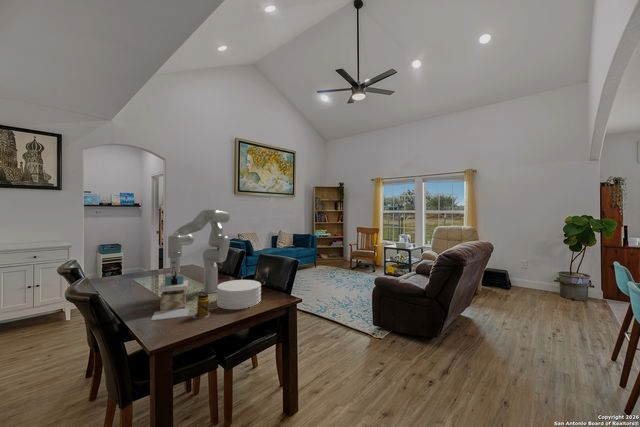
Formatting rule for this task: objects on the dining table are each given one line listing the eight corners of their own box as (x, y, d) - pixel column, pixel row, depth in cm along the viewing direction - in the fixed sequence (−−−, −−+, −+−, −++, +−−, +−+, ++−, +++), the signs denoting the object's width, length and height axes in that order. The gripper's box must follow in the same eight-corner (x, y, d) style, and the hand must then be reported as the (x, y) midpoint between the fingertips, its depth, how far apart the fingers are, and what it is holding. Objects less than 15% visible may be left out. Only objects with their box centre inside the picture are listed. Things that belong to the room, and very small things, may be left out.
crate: (185, 301, 179) (186, 288, 179) (184, 308, 167) (184, 293, 167) (163, 304, 174) (163, 290, 174) (160, 311, 162) (160, 295, 162)
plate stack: (269, 302, 182) (269, 285, 182) (230, 313, 162) (231, 293, 162) (245, 293, 201) (246, 277, 201) (208, 302, 181) (209, 284, 180)
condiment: (208, 317, 154) (208, 296, 154) (191, 318, 152) (192, 297, 152) (210, 312, 161) (210, 292, 161) (194, 313, 159) (195, 293, 159)
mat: (189, 309, 167) (189, 308, 167) (187, 316, 155) (187, 315, 155) (154, 312, 159) (154, 311, 159) (151, 321, 147) (151, 319, 147)
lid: (188, 283, 181) (188, 272, 181) (186, 289, 167) (187, 277, 167) (162, 285, 175) (162, 274, 175) (159, 292, 161) (159, 279, 161)
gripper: (180, 256, 165) (180, 286, 165) (182, 252, 180) (182, 280, 180) (166, 257, 162) (166, 288, 162) (169, 252, 177) (169, 281, 177)
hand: (174, 283), depth 171 cm, fingers closed on lid, 3 cm apart
